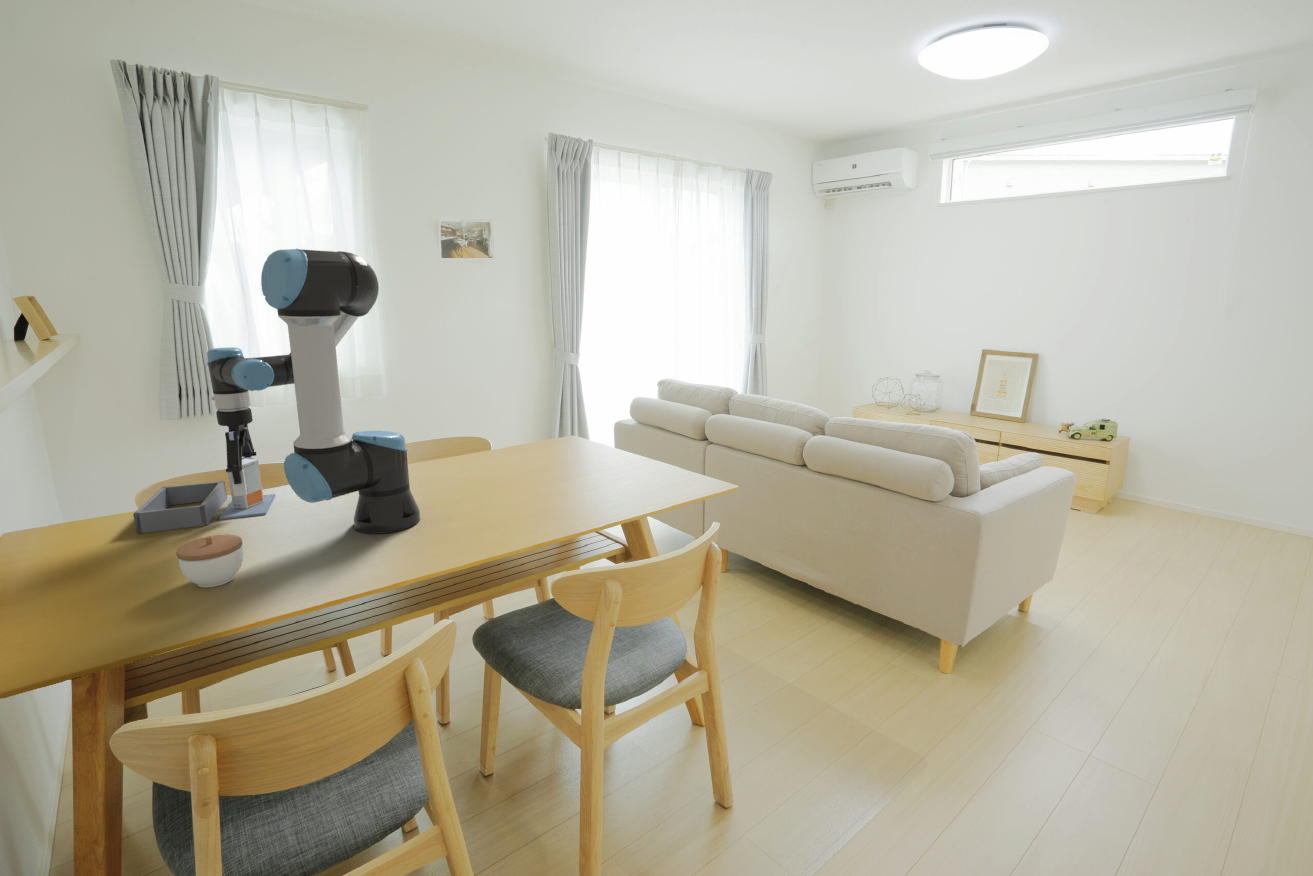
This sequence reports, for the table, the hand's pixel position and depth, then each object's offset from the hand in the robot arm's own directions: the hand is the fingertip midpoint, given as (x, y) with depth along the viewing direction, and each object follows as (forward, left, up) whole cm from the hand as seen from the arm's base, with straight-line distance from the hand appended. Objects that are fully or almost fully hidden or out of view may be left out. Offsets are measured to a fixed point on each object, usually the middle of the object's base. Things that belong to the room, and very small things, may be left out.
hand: (245, 487), depth 166 cm
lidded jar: (-47, -2, -6) cm, 47 cm away
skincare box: (0, 0, -5) cm, 5 cm away
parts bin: (0, +14, -6) cm, 15 cm away
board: (0, 0, -6) cm, 6 cm away
